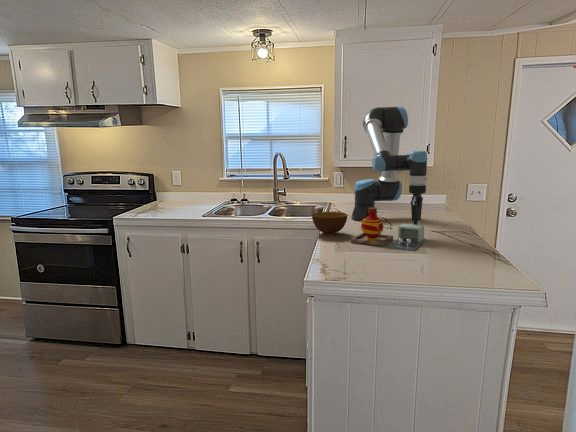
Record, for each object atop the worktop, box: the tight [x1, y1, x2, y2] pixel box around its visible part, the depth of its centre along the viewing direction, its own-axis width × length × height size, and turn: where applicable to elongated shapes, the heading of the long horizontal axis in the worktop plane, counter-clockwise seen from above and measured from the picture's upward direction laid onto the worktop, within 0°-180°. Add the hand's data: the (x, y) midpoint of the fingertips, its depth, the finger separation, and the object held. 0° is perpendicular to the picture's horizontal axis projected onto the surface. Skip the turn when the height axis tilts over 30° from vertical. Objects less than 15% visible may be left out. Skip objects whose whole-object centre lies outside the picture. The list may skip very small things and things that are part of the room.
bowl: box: [311, 211, 348, 236], centre depth 204 cm, size 18×18×10 cm
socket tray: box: [350, 232, 394, 248], centre depth 189 cm, size 15×15×2 cm
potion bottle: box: [360, 207, 384, 241], centre depth 188 cm, size 10×10×15 cm
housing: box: [397, 223, 425, 242], centre depth 186 cm, size 10×7×6 cm
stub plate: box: [388, 237, 427, 252], centre depth 182 cm, size 11×20×4 cm, turn 148°
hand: (415, 233), depth 193 cm, fingers closed
